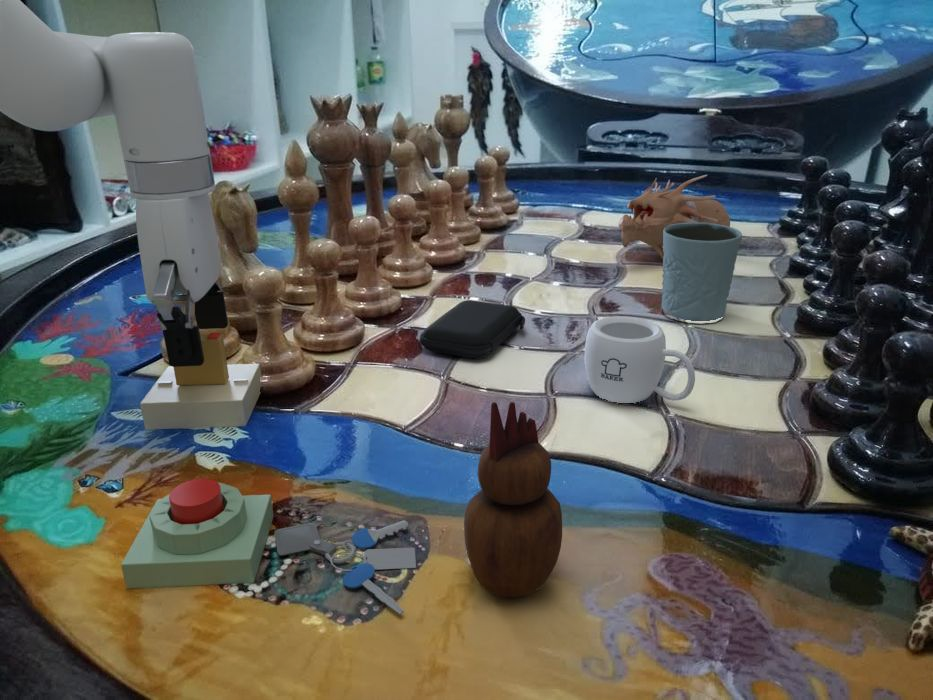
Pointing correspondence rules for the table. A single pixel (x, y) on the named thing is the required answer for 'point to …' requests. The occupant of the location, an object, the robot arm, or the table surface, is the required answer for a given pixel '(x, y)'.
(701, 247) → the embossed teal cup
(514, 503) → the wooden figurine
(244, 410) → the plate
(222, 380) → the tan block
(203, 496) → the release button
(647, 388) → the mug
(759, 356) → the table surface
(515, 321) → the carrying case
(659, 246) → the dragon head statue
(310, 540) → the key chain
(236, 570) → the box
